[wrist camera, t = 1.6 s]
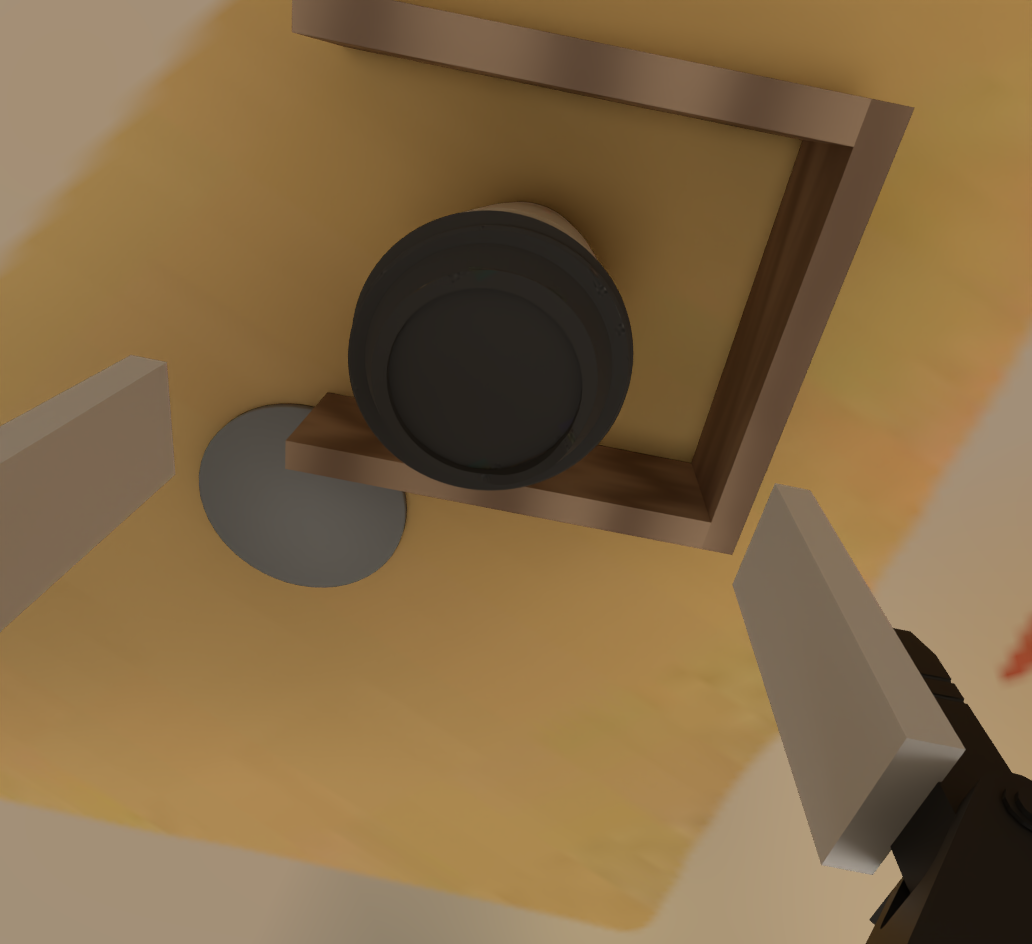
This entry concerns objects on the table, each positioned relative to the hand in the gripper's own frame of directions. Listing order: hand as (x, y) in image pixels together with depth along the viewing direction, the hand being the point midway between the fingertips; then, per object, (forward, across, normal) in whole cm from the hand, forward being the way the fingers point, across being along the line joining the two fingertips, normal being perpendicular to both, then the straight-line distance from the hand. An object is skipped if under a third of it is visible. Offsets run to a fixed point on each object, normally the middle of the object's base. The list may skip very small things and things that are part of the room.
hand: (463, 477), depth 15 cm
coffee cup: (+21, 0, 0) cm, 21 cm away
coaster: (+20, -10, -15) cm, 27 cm away
